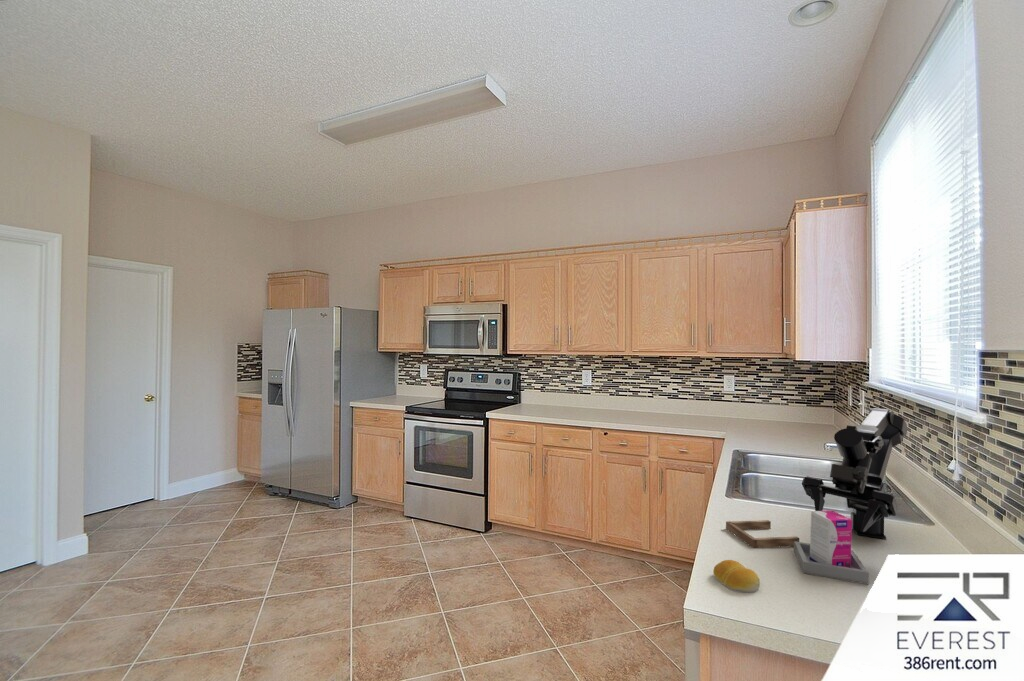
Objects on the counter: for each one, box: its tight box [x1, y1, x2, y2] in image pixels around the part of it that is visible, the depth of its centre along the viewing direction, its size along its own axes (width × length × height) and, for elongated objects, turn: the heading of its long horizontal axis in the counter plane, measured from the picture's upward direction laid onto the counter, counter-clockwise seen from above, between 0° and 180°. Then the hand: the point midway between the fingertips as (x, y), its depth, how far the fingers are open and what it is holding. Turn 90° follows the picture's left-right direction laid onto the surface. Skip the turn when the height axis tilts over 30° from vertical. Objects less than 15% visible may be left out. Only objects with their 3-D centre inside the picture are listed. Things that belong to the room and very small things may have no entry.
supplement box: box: [809, 510, 853, 568], centre depth 108 cm, size 6×6×12 cm
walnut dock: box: [725, 519, 800, 549], centre depth 124 cm, size 12×12×2 cm
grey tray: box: [793, 541, 870, 584], centre depth 108 cm, size 12×12×2 cm
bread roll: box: [712, 559, 761, 593], centre depth 101 cm, size 8×9×4 cm
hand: (839, 525), depth 113 cm, fingers open, 9 cm apart
